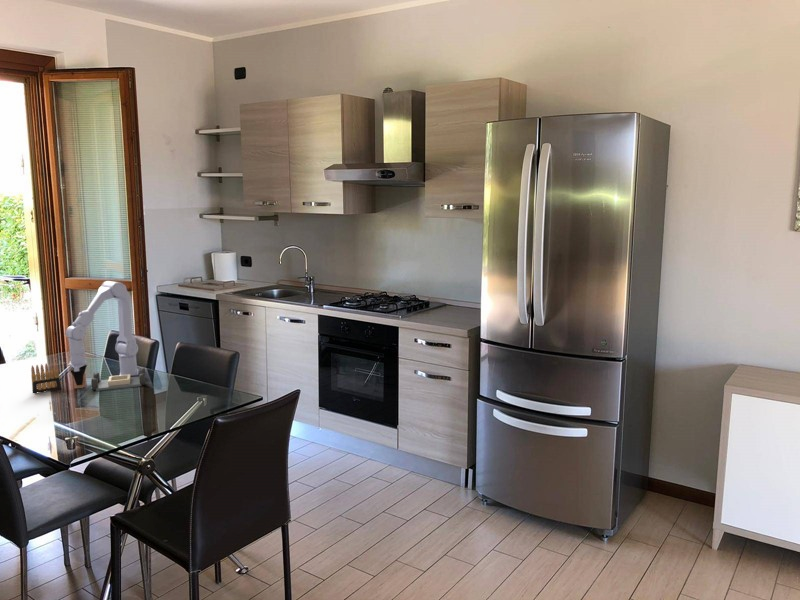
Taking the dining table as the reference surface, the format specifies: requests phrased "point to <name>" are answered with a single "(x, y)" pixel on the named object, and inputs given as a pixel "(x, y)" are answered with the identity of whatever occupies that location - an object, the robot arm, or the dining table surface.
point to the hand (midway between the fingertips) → (80, 383)
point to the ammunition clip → (48, 381)
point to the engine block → (82, 384)
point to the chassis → (118, 381)
